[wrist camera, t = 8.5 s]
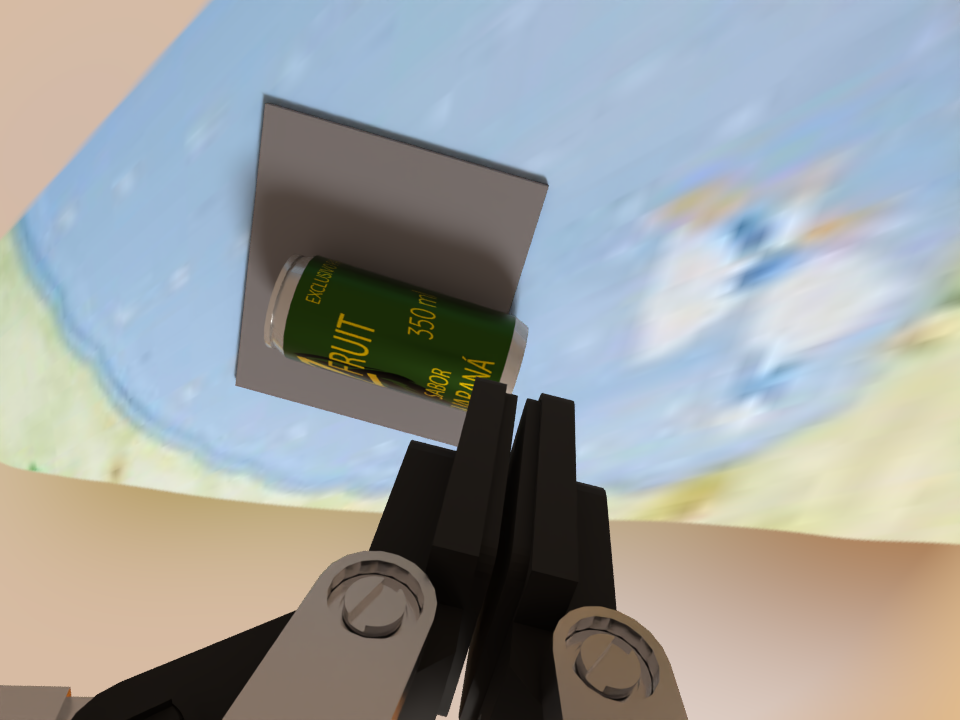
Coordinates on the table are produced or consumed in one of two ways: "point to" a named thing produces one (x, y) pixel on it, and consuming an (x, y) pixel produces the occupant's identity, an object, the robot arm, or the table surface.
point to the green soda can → (390, 331)
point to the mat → (377, 247)
